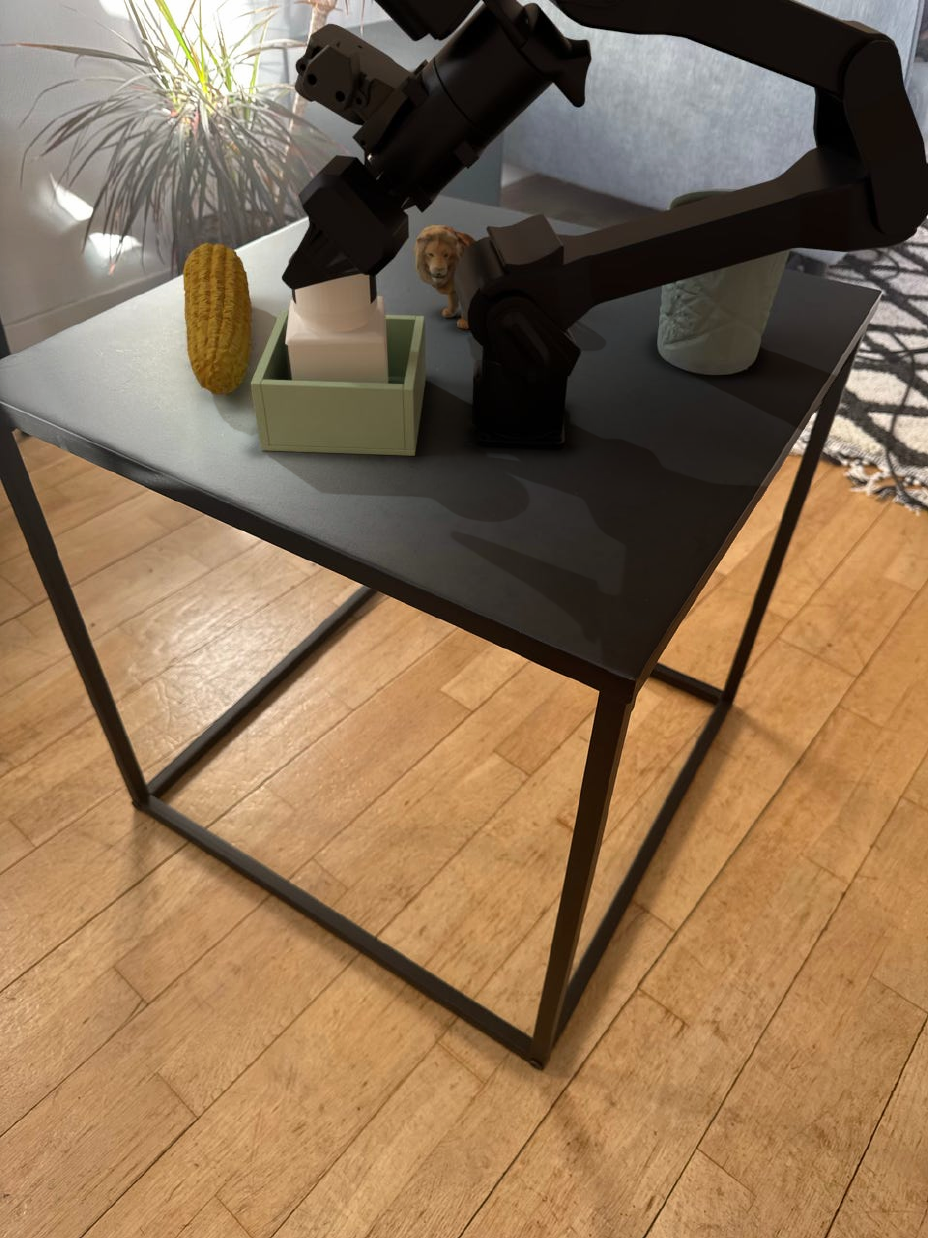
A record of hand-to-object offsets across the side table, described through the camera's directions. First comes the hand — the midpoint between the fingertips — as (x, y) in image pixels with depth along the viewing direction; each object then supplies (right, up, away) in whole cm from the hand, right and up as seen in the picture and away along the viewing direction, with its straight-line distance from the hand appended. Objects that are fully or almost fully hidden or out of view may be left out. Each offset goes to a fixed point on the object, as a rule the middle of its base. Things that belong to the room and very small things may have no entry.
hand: (310, 256), depth 66 cm
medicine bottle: (+1, -9, +8) cm, 12 cm away
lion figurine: (+13, +2, +20) cm, 24 cm away
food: (-10, -2, +15) cm, 18 cm away
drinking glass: (+32, -2, +16) cm, 35 cm away
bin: (+2, -9, +8) cm, 12 cm away
